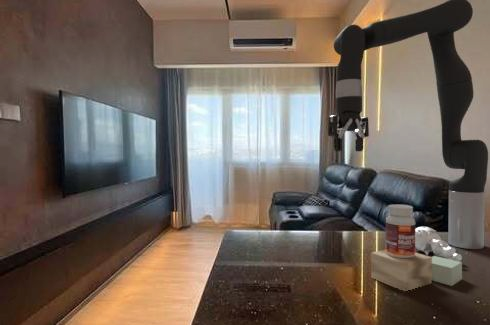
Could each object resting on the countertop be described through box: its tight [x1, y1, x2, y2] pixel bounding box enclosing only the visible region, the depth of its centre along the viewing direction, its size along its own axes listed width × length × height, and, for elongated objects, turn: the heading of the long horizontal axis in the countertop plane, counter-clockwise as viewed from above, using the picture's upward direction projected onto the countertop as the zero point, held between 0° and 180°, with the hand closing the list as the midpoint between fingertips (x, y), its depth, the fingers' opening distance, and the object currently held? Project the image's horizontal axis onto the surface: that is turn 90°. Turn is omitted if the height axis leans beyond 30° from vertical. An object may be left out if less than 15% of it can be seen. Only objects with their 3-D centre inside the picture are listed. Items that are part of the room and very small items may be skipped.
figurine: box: [415, 225, 463, 262], centre depth 92 cm, size 11×7×15 cm
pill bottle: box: [385, 204, 416, 258], centre depth 74 cm, size 6×6×11 cm
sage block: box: [431, 255, 463, 287], centre depth 75 cm, size 6×6×4 cm
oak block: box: [370, 249, 433, 292], centre depth 74 cm, size 9×9×6 cm
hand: (348, 151), depth 96 cm, fingers open, 8 cm apart
